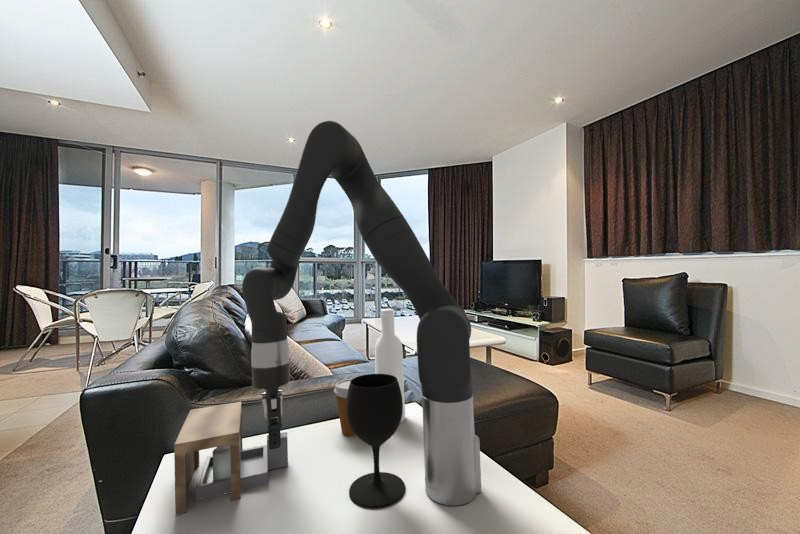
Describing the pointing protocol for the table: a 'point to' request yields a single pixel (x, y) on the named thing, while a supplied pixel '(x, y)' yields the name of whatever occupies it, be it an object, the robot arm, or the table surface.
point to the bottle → (390, 352)
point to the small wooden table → (207, 446)
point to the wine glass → (375, 435)
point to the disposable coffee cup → (343, 405)
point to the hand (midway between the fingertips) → (273, 439)
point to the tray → (251, 468)
